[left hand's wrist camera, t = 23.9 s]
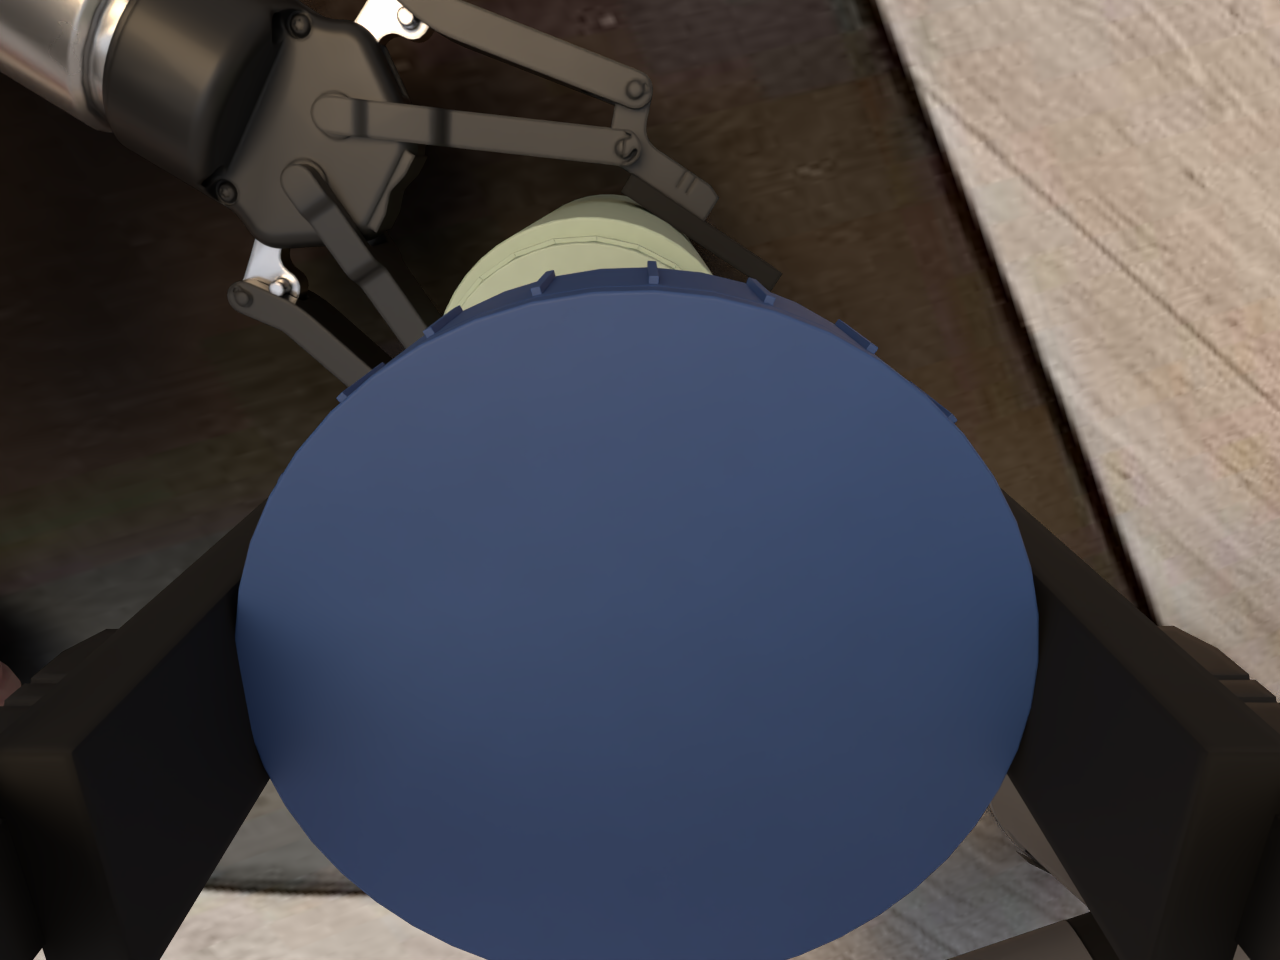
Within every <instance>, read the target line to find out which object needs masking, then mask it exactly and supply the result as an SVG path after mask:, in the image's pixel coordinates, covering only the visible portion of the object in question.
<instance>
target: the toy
mask: <svg viewBox="0 0 1280 960" xmlns="http://www.w3.org/2000/svg"><path fill="white" fill-rule="evenodd" d="M20 687H21V682H20V680H19V679H18V678H17V676H16V675H15V674H14V673H13V672H12V670H11V669H10V668H9V667H8V666H7V665H5V664H4V663H2V662H1V661H0V706H4V700H5V699H7V698H8V697H9V696H10V695H11V694H12V693H14V692H15V691H16V690H17V689H18V688H20Z"/></svg>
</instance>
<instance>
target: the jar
mask: <svg viewBox="0 0 1280 960" xmlns="http://www.w3.org/2000/svg"><path fill="white" fill-rule="evenodd" d="M647 261H656V263H657V268H664V269H674V270H683V271H693V272H702V273H706V274H710V275H713V274H712V273H711V271H710V270H709V269H708V267H707V266H706V264H705V263H704V261H703V260H702V258H701V257H700V255H699V254H698V252H697V251H696V249H695V248H694V247H693V245H692V244H691V242H690V241H689V239H688V238H687V237H686V235H685V234H683V233H682V232H680V231H679V230H677V229H676V228H674V227H672V226H671V225H670V224H668V223H667V222H665V221H663V220H662V219H660V218H659V217H657V216H656V215H654V214H653V213H651V212H650V211H648V210H647V209H645V208H644V207H642V206H641V205H639V204H638V203H636V202H635V201H633V200H632V199H630V198H629V197H627V196H621V195H614V194H601V195H593V196H587V197H584V198H580V199H577V200H574V201H572V202H569V203H567V204H565V205H563V206H561V207H560V208H558V209H556V210H555V211H553V212H551V213H550V214H548V215H546V216H545V217H543V218H541V219H540V220H538V221H536V222H535V223H533V224H531V225H530V226H528V227H526V228H525V229H523V230H521V231H520V232H518V233H516V234H515V235H513V236H511V237H510V238H508V239H506V240H505V241H503V242H502V243H500V244H498V245H497V246H495V247H494V248H493V249H492V250H491V251H489V252H488V253H487V254H486V255H485V256H483V257H482V258H481V259H480V260H479V261H478V262H477V263H476V264H475V265H474V267H473V268H472V269H471V270H470V271H469V272H468V273H467V274H466V276H465V277H464V279H463V280H462V282H461V283H460V284H459V286H458V287H457V289H456V290H455V292H454V294H453V296H452V298H451V300H450V302H449V304H448V306H447V308H446V310H445V313H444V315H445V314H446V313H448V312H449V311H450V310H452V309H453V308H455V307H457V306H459V305H460V306H461V308H462V310H463V311H464V310H466V309H468V308H470V307H472V306H474V305H476V304H479V303H481V302H483V301H485V300H487V299H489V298H491V297H494V296H496V295H498V294H500V293H502V292H504V291H507V290H511V289H514V288H517V287H520V286H524V285H527V284H530V283H533V282H537V281H538V280H539V279H540V278H541V276H542V275H543V274H544V273H545V272H546V271H551V270H554V272H555V276H560V275H566V274H572V273H578V272H584V271H590V270H596V269H606V268H640V267H647Z"/></svg>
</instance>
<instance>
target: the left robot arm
mask: <svg viewBox="0 0 1280 960" xmlns="http://www.w3.org/2000/svg"><path fill="white" fill-rule="evenodd" d="M1000 489H1001V488H1000ZM1001 491H1002V493H1003V495H1004V497H1005V499H1006V501H1007V503H1008V505H1009V507H1010V509H1011V511H1012V513H1013V515H1014V517H1015V519H1016V521H1017V524H1018V527H1019V530H1020V534H1021V537H1022V540H1023V543H1024V546H1025V549H1026V552H1027V555H1028V559H1029V562H1030V565H1031V569H1032V575H1033V582H1034V588H1035V595H1036V601H1037V608H1038V614H1039V644H1038V668H1037V674H1036V681H1035V687H1034V694H1033V700H1032V705H1031V710H1030V713H1029V716H1028V719H1027V722H1026V726H1025V729H1024V732H1023V735H1022V739H1021V742H1020V745H1019V748H1018V751H1017V753H1016V755H1015V757H1014V759H1013V761H1012V763H1011V765H1010V767H1009V770H1008V772H1007V774H1006V776H1005V778H1004V780H1003V782H1002V784H1001V787H1000V789H999V790H998V792H997V793H996V795H995V796H994V798H993V799H992V801H991V803H990V804H989V807H990V809H991V811H992V812H993V814H994V816H995V818H996V820H997V821H998V823H999V825H1000V826H1001V828H1002V829H1003V830H1004V832H1005V833H1006V834H1007V835H1008V837H1009V838H1010V839H1011V840H1012V841H1013V842H1014V843H1015V844H1016V845H1017V846H1018V848H1019V849H1021V850H1022V851H1023V852H1024V853H1025V854H1026V855H1028V856H1029V857H1030V858H1032V859H1033V860H1032V859H1030V858H1029V857H1027V856H1025V855H1023V854H1021V853H1019V852H1018V853H1019V854H1020V855H1021V856H1022V857H1023V858H1024V859H1025V860H1027V861H1028V862H1029V863H1030V864H1032V865H1034V866H1036V867H1038V868H1040V869H1042V870H1044V871H1046V872H1048V873H1050V874H1052V875H1053V876H1054V877H1055V878H1056V879H1057V880H1058V881H1060V882H1061V883H1062V884H1063V885H1064V886H1065V887H1066V888H1067V889H1068V890H1070V891H1071V892H1072V893H1073V894H1074V895H1075V896H1076V897H1077V898H1079V899H1080V900H1081V901H1082V902H1083V903H1084V904H1085V905H1086V906H1087V907H1088V908H1089V910H1090V912H1088V913H1085V914H1082V915H1079V916H1076V917H1073V918H1070V919H1067V920H1063V921H1060V922H1057V923H1054V924H1051V925H1048V926H1045V927H1042V928H1039V929H1036V930H1033V931H1030V932H1027V933H1024V934H1021V935H1018V936H1015V937H1012V938H1009V939H1006V940H1003V941H1000V942H997V943H994V944H991V945H989V946H986V947H983V948H980V949H977V950H974V951H971V952H968V953H965V954H962V955H959V956H956V957H953V958H950V959H947V960H1280V703H1277V702H1276V697H1275V696H1274V695H1273V694H1272V693H1271V692H1269V691H1268V690H1267V689H1266V688H1265V687H1263V686H1262V685H1261V684H1260V683H1259V682H1257V681H1256V680H1250V679H1249V674H1248V673H1246V672H1245V671H1244V670H1243V669H1242V668H1240V667H1239V666H1238V665H1237V664H1236V663H1234V662H1233V661H1232V660H1231V659H1230V658H1228V657H1227V656H1226V655H1225V654H1224V653H1222V652H1221V651H1220V650H1219V649H1217V648H1216V647H1214V646H1212V645H1210V644H1208V643H1206V642H1204V641H1202V640H1200V639H1198V638H1196V637H1194V636H1192V635H1190V634H1188V633H1186V632H1184V631H1182V630H1180V629H1178V628H1176V627H1174V626H1156V625H1155V624H1154V623H1153V622H1152V621H1151V620H1150V619H1148V618H1147V617H1146V616H1145V615H1144V614H1143V613H1142V612H1141V611H1139V610H1138V609H1137V608H1136V607H1135V606H1134V605H1133V604H1131V603H1130V602H1129V601H1128V600H1127V599H1126V598H1125V597H1124V596H1122V595H1121V594H1120V593H1119V592H1118V591H1117V590H1116V589H1114V588H1113V587H1112V586H1111V585H1110V584H1109V583H1108V582H1107V581H1105V580H1104V579H1103V578H1102V577H1101V576H1100V575H1099V574H1097V573H1096V572H1095V571H1094V570H1093V569H1092V568H1091V567H1090V566H1088V565H1087V564H1086V563H1085V562H1084V561H1083V560H1082V559H1080V558H1079V557H1078V556H1077V555H1076V554H1075V553H1074V552H1072V551H1071V550H1070V549H1069V548H1068V547H1067V546H1066V545H1065V544H1063V543H1062V542H1061V541H1060V540H1059V539H1058V538H1057V537H1055V536H1054V535H1053V534H1052V533H1051V532H1050V531H1049V530H1048V529H1046V528H1045V527H1044V526H1043V525H1042V524H1041V523H1040V522H1038V521H1037V520H1036V519H1035V518H1034V517H1033V516H1032V515H1031V514H1029V513H1028V512H1027V511H1026V510H1025V509H1024V508H1023V507H1021V506H1020V505H1019V504H1018V503H1017V502H1016V501H1015V500H1013V499H1012V498H1011V497H1010V496H1009V495H1008V494H1007V493H1006V492H1004V491H1003V490H1002V489H1001ZM268 498H269V497H268ZM268 498H267V499H266V500H265V501H264V502H263V503H261V504H260V505H259V506H258V507H257V508H256V509H255V510H253V511H252V512H251V513H250V514H249V515H248V516H247V517H246V518H244V519H243V520H242V521H241V522H240V523H239V524H238V525H236V526H235V527H234V528H233V529H232V530H231V531H230V532H228V533H227V534H226V535H225V536H224V537H223V538H222V539H221V540H219V541H218V542H217V543H216V544H215V545H214V546H213V547H211V548H210V549H209V550H208V551H207V552H206V553H205V554H204V555H202V556H201V557H200V558H199V559H198V560H197V561H196V562H194V563H193V564H192V565H191V566H190V567H189V568H188V569H186V570H185V571H184V572H183V573H182V574H181V575H180V576H179V577H177V578H176V579H175V580H174V581H173V582H172V583H171V584H169V585H168V586H167V587H166V588H165V589H164V590H163V591H162V592H160V593H159V594H158V595H157V596H156V597H155V598H154V599H152V600H151V601H150V602H149V603H148V604H147V605H146V606H145V607H143V608H142V609H141V610H140V611H139V612H138V613H137V614H135V615H134V616H133V617H132V618H131V619H130V620H129V621H127V622H126V623H125V624H124V625H123V626H122V627H121V628H120V629H106V630H104V631H102V632H100V633H98V634H96V635H94V636H92V637H90V638H88V639H86V640H84V641H82V642H80V643H78V644H77V645H75V646H73V647H71V648H69V649H67V650H65V651H63V652H62V653H60V654H59V655H58V656H57V657H56V658H54V659H53V660H52V661H51V662H50V663H48V664H47V665H46V666H45V667H44V668H42V669H41V670H40V671H39V672H38V673H36V674H35V675H34V676H33V677H32V678H31V683H24V684H23V685H22V686H21V687H20V688H18V689H17V690H16V691H15V692H14V693H12V694H11V695H10V696H9V697H8V698H7V699H5V700H4V706H0V960H33V959H34V958H35V956H36V955H37V954H38V953H39V951H40V950H41V949H42V948H43V951H44V954H45V957H46V960H160V958H161V957H162V955H163V953H164V952H165V950H166V949H167V947H168V945H169V944H170V942H171V940H172V939H173V937H174V935H175V934H176V932H177V930H178V929H179V927H180V925H181V924H182V922H183V921H184V919H185V917H186V916H187V914H188V912H189V911H190V909H191V907H192V906H193V904H194V902H195V901H196V899H197V897H198V896H199V894H200V893H201V891H202V889H203V888H204V886H205V884H206V883H207V881H208V879H209V878H210V876H211V874H212V873H213V871H214V870H215V868H216V866H217V865H218V863H219V861H220V860H221V858H222V856H223V855H224V853H225V851H226V850H227V848H228V846H229V845H230V843H231V842H232V840H233V838H234V837H235V835H236V833H237V832H238V830H239V828H240V827H241V825H242V823H243V822H244V820H245V819H246V817H247V815H248V814H249V812H250V810H251V809H252V807H253V805H254V804H255V802H256V800H257V799H258V797H259V795H260V794H261V792H262V791H263V789H264V787H265V786H266V784H267V782H268V781H269V779H270V777H269V775H268V774H267V772H266V770H265V768H264V766H263V763H262V761H261V758H260V756H259V753H258V750H257V748H256V745H255V742H254V738H253V734H252V730H251V724H250V719H249V714H248V708H247V703H246V698H245V693H244V687H243V682H242V677H241V672H240V666H239V660H238V654H237V648H236V642H235V629H236V617H237V605H238V592H239V586H240V581H241V577H242V573H243V569H244V565H245V561H246V557H247V553H248V549H249V544H250V541H251V538H252V536H253V534H254V531H255V529H256V526H257V524H258V522H259V519H260V517H261V515H262V512H263V510H264V507H265V505H266V503H267V500H268ZM1016 852H1017V851H1016Z"/></svg>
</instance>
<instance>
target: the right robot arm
mask: <svg viewBox="0 0 1280 960" xmlns="http://www.w3.org/2000/svg"><path fill="white" fill-rule="evenodd" d="M434 31H436V32H438V33H439V34H441V35H443V36H444V37H446V38H448V39H449V40H451V41H453V42H455V43H457V44H459V45H461V46H463V47H466V48H468V49H471V50H473V51H476V52H479V53H481V54H484V55H486V56H489V57H491V58H494V59H497V60H499V61H502V62H504V63H507V64H509V65H512V66H515V67H517V68H520V69H522V70H525V71H527V72H530V73H533V74H535V75H538V76H540V77H543V78H545V79H548V80H551V81H553V82H556V83H558V84H561V85H563V86H566V87H569V88H571V89H574V90H576V91H579V92H581V93H584V94H586V95H589V96H592V97H594V98H597V99H599V100H602V101H604V102H607V103H610V104H612V105H615V108H614V114H613V119H612V124H611V128H608V127H599V126H590V125H582V124H573V123H564V122H555V121H546V120H537V119H528V118H519V117H510V116H502V115H493V114H484V113H475V112H466V111H457V110H449V109H442V108H435V107H426V106H417V105H412V103H411V100H410V98H409V96H408V94H407V92H406V89H405V87H404V85H403V83H402V81H401V78H400V76H399V74H398V72H397V70H396V67H395V65H394V63H393V61H392V58H391V56H390V54H389V52H388V50H387V48H386V44H387V43H388V42H389V41H390V40H391V39H393V38H396V37H404V38H407V39H409V40H411V41H413V42H417V43H421V42H425V41H426V40H428V39H429V38H430V37H431V36H432V34H433V33H434ZM0 72H2V73H3V74H5V75H6V76H8V77H10V78H11V79H13V80H15V81H16V82H18V83H20V84H21V85H23V86H25V87H26V88H28V89H29V90H31V91H33V92H34V93H36V94H38V95H39V96H41V97H43V98H44V99H46V100H48V101H49V102H51V103H52V104H54V105H56V106H57V107H59V108H61V109H62V110H64V111H66V112H67V113H69V114H71V115H72V116H74V117H76V118H77V119H79V120H80V121H82V122H84V123H85V124H87V125H89V126H90V127H92V128H94V129H95V130H99V131H104V132H113V133H114V135H115V137H116V138H117V140H118V141H119V142H120V143H121V144H122V145H123V146H125V147H126V148H128V149H130V150H131V151H133V152H135V153H136V154H138V155H140V156H141V157H143V158H145V159H146V160H148V161H150V162H152V163H153V164H155V165H157V166H158V167H160V168H162V169H163V170H165V171H167V172H168V173H170V174H172V175H173V176H175V177H177V178H178V179H180V180H182V181H183V182H185V183H187V184H188V185H190V186H192V187H193V188H195V189H197V190H198V191H200V192H202V193H203V194H205V195H207V196H208V197H210V198H212V199H214V200H216V201H217V202H219V203H221V204H223V205H224V206H226V207H228V208H229V209H230V210H232V211H233V212H234V213H235V214H236V215H237V216H238V217H239V218H240V219H241V221H242V222H243V223H244V225H245V226H246V228H247V229H248V231H249V232H250V234H251V235H252V236H253V237H254V238H255V242H254V245H253V249H252V252H251V256H250V259H249V263H248V266H247V269H246V273H245V276H244V279H243V280H241V281H238V282H235V283H234V284H232V285H231V286H230V288H229V289H228V294H227V298H228V301H229V303H230V305H231V306H232V307H233V309H235V310H236V311H238V312H239V313H242V314H244V315H246V316H249V317H251V318H253V319H256V320H258V321H260V322H263V323H265V324H267V325H270V326H272V327H274V328H277V329H279V330H281V331H283V332H284V333H286V334H287V335H288V336H289V337H290V338H291V339H292V340H294V341H295V342H296V343H297V344H298V345H299V346H301V347H302V348H303V349H304V350H305V351H306V352H308V353H309V354H310V355H311V356H312V357H313V358H315V359H316V360H317V361H318V362H319V363H320V364H322V365H323V366H324V367H325V368H326V369H327V370H329V371H330V372H331V373H332V374H333V375H334V376H335V377H337V378H338V379H339V380H340V381H341V382H342V383H344V384H345V385H346V386H347V387H350V386H351V385H352V384H354V383H355V382H356V381H358V380H359V379H360V378H362V377H363V376H364V375H366V374H367V373H368V372H370V371H371V370H372V369H374V368H375V367H376V366H378V365H379V364H380V363H382V362H383V363H384V364H385V365H386V364H387V363H388V362H390V361H391V360H392V358H391V357H390V356H389V355H388V354H386V353H385V352H384V351H383V350H382V349H381V348H380V347H378V346H377V345H376V344H375V343H374V342H373V341H372V340H371V339H369V338H368V337H367V336H366V335H365V334H364V333H363V332H362V331H360V330H359V329H358V328H357V327H356V326H355V325H354V324H353V323H351V322H350V321H349V320H348V319H347V318H346V317H345V316H344V315H342V314H341V313H340V312H339V311H338V310H337V309H336V308H334V307H333V306H332V305H331V304H329V303H328V302H327V301H326V300H324V299H323V298H321V297H320V296H318V295H317V294H315V293H313V292H311V291H309V290H308V286H309V285H308V280H307V277H306V276H305V275H304V273H303V272H301V271H300V270H299V269H298V268H296V267H295V266H294V264H293V263H292V261H291V259H290V248H301V247H316V246H326V247H327V248H328V250H329V251H330V253H331V254H332V255H333V257H334V258H335V260H336V261H337V262H338V264H339V265H340V267H341V268H342V269H343V271H344V272H345V273H346V275H347V276H348V277H349V278H350V279H351V280H352V281H354V282H355V283H357V284H358V285H359V286H360V287H361V288H362V289H363V291H364V292H365V293H366V295H367V296H368V298H369V299H370V300H371V302H372V303H373V305H374V306H375V307H376V309H377V310H378V312H379V313H380V314H381V316H382V317H383V319H384V320H385V321H386V323H387V324H388V325H389V327H390V328H391V330H392V331H393V332H394V334H395V335H396V337H397V338H398V339H399V341H400V342H401V344H402V345H403V346H404V348H405V349H407V348H408V347H409V346H411V345H412V344H413V343H414V342H416V341H417V340H418V339H420V338H421V337H423V336H424V333H423V331H424V330H425V329H426V328H428V327H429V326H430V325H432V324H433V323H434V322H436V321H437V320H438V319H440V318H441V315H440V314H439V313H438V311H437V310H436V308H435V307H434V305H433V304H432V302H431V301H430V300H429V298H428V297H427V295H426V294H425V292H424V291H423V290H422V288H421V287H420V285H419V284H418V282H417V281H416V279H415V278H414V277H413V275H412V274H411V272H410V271H409V269H408V268H407V266H406V265H405V263H404V262H403V260H402V256H401V253H400V251H399V249H398V248H397V246H396V245H395V243H394V242H393V240H392V239H391V237H390V236H389V234H388V233H387V232H386V230H389V229H392V227H393V225H394V223H395V221H396V219H397V217H398V215H399V213H400V210H401V205H402V200H403V195H404V191H405V189H406V188H407V187H408V186H409V185H410V183H411V182H412V181H413V180H414V179H415V178H416V177H417V176H418V175H419V173H420V171H421V169H422V167H423V165H424V163H425V161H426V159H427V157H428V156H427V155H425V150H426V144H427V145H436V146H445V147H454V148H463V149H472V150H481V151H490V152H500V153H509V154H518V155H527V156H536V157H545V158H554V159H563V160H572V161H581V162H590V163H599V164H608V165H617V166H620V167H622V168H623V169H625V170H626V171H628V172H629V173H631V176H630V177H629V179H628V181H627V182H626V184H625V186H624V187H623V189H622V191H621V193H623V194H624V195H626V196H627V197H629V198H630V199H632V200H633V201H635V202H636V203H638V204H639V205H641V206H642V207H644V208H645V209H647V210H648V211H650V212H651V213H653V214H654V215H656V216H657V217H659V218H660V219H662V220H663V221H665V222H667V223H668V224H670V225H671V226H672V227H674V228H676V229H677V230H679V231H680V232H682V233H683V234H685V235H686V236H688V237H689V238H691V239H692V240H694V241H695V242H697V243H698V244H700V245H701V246H703V247H704V248H706V249H707V250H709V251H710V252H712V253H713V254H715V255H716V256H718V257H719V258H721V259H722V260H724V261H725V262H727V263H728V264H730V265H731V266H733V267H735V268H736V269H738V270H739V271H741V272H742V273H744V274H745V275H747V276H748V277H750V278H753V279H756V280H757V281H758V282H759V283H760V284H761V285H763V286H764V287H765V288H766V289H768V290H769V291H771V290H772V288H773V287H774V286H775V284H776V283H777V281H778V280H779V278H780V277H781V275H782V273H781V272H779V271H778V270H777V269H775V268H774V267H773V266H772V265H770V264H769V263H767V262H766V261H764V260H763V259H761V258H760V257H758V256H757V255H755V254H754V253H752V252H751V251H749V250H748V249H746V248H745V247H743V246H742V245H740V244H739V243H737V242H736V241H734V240H733V239H731V238H730V237H728V236H727V235H725V234H724V233H722V232H721V231H719V230H718V229H716V228H715V227H713V226H712V225H710V224H709V223H707V222H706V221H705V220H706V218H707V216H708V215H709V213H710V212H711V210H712V209H713V207H714V205H715V204H716V202H717V201H718V199H719V197H718V196H717V194H716V193H715V191H714V190H713V188H712V187H711V185H709V184H708V183H706V182H705V181H704V180H702V179H701V178H699V177H698V176H696V175H695V174H693V173H692V172H690V171H689V170H687V169H686V168H684V167H683V166H681V165H680V164H679V163H677V162H676V161H674V160H673V159H671V158H670V157H668V156H667V155H665V154H664V153H662V152H661V151H659V150H658V149H656V148H655V147H654V146H653V145H652V144H651V142H650V141H649V139H648V136H647V132H646V124H647V118H648V114H649V109H650V104H651V99H652V92H653V87H652V82H651V80H650V79H649V77H648V76H647V75H646V74H645V73H643V72H642V71H639V70H637V69H634V68H632V67H629V66H627V65H624V64H622V63H619V62H617V61H614V60H612V59H609V58H607V57H604V56H602V55H599V54H597V53H594V52H592V51H589V50H586V49H584V48H581V47H579V46H576V45H574V44H571V43H569V42H566V41H564V40H561V39H559V38H556V37H554V36H551V35H549V34H546V33H544V32H541V31H538V30H536V29H533V28H531V27H528V26H526V25H523V24H521V23H518V22H516V21H513V20H511V19H508V18H506V17H503V16H501V15H498V14H496V13H493V12H491V11H488V10H485V9H483V8H480V7H478V6H475V5H473V4H470V3H468V2H465V1H463V0H368V1H367V2H366V4H365V5H364V7H363V9H362V10H361V12H360V13H359V15H358V17H357V18H356V20H355V21H350V20H337V19H330V18H326V17H324V16H322V15H320V14H319V13H317V12H316V11H314V10H312V9H311V8H309V7H308V6H306V5H305V4H303V3H302V2H300V1H299V0H0Z"/></svg>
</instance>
